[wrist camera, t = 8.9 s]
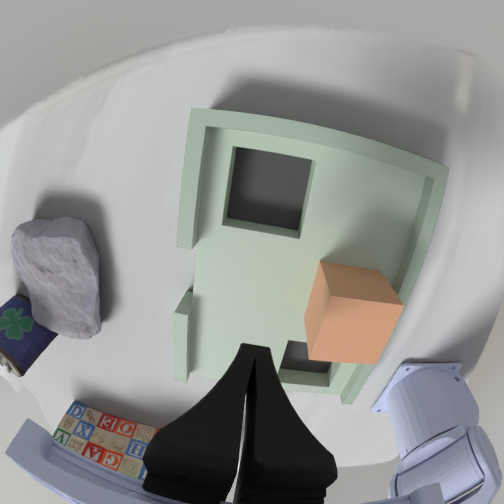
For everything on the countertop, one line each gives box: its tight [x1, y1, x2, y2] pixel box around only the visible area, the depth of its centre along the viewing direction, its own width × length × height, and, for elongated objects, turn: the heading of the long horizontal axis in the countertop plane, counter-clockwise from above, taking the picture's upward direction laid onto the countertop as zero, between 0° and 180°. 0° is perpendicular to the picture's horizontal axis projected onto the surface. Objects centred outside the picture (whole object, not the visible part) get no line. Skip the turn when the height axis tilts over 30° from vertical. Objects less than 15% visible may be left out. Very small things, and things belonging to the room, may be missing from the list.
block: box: [304, 261, 404, 364], centre depth 16 cm, size 4×4×4 cm
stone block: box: [11, 216, 102, 339], centre depth 22 cm, size 12×5×10 cm
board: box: [174, 108, 449, 404], centre depth 19 cm, size 16×21×3 cm
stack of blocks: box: [52, 401, 159, 481], centre depth 27 cm, size 21×6×12 cm, turn 88°
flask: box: [0, 294, 58, 377], centre depth 20 cm, size 9×3×11 cm, turn 74°
